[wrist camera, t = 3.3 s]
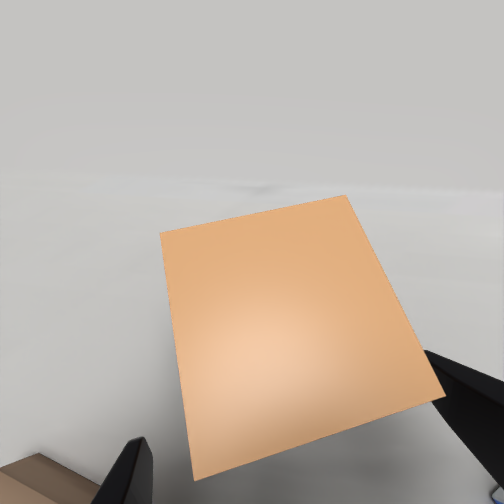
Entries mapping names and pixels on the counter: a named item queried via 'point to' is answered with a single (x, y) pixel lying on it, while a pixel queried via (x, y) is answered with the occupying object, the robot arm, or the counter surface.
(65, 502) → the walnut stand
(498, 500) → the medicine box
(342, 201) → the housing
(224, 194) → the counter surface
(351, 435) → the counter surface
